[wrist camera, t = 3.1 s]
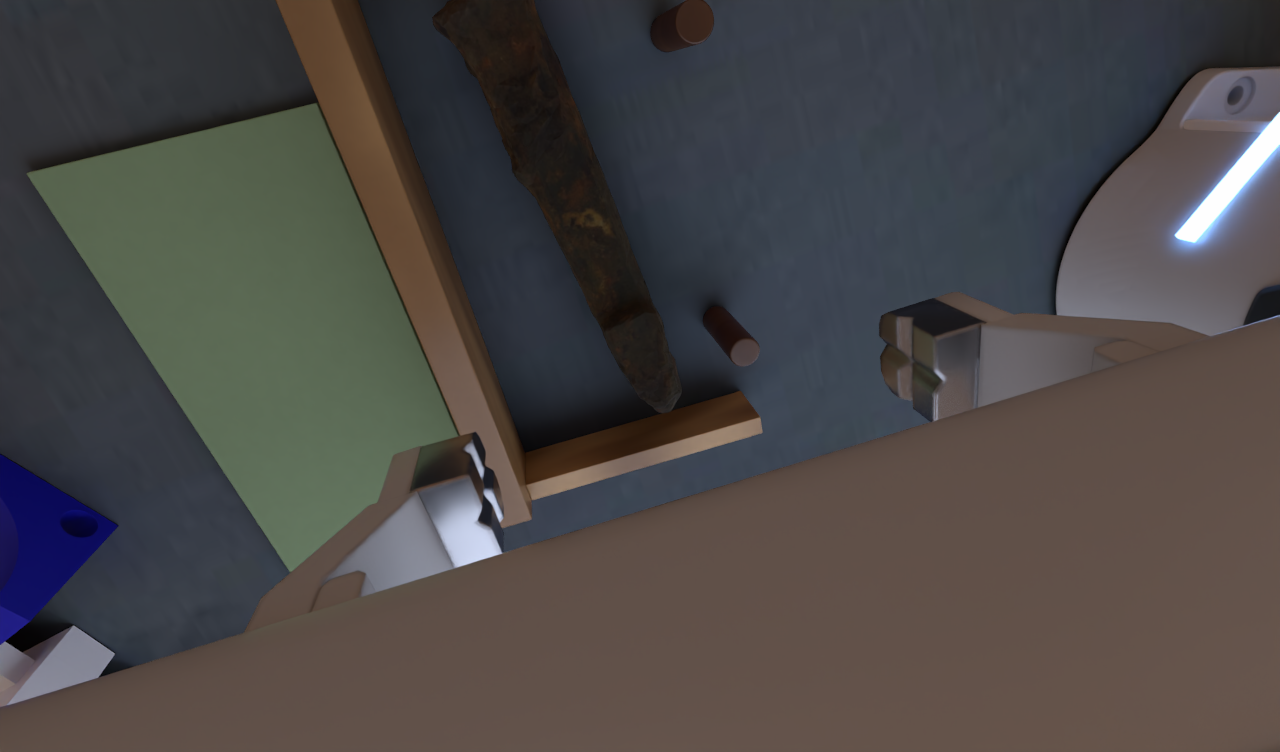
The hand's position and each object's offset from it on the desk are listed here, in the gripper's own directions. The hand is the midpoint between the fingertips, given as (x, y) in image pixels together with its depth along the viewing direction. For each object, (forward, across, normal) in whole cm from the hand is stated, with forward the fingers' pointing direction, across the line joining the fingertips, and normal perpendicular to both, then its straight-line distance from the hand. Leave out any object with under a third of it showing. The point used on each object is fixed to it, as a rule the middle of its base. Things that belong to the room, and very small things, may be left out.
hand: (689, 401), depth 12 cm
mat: (+18, +14, +4) cm, 23 cm away
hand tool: (+18, 0, 0) cm, 18 cm away
